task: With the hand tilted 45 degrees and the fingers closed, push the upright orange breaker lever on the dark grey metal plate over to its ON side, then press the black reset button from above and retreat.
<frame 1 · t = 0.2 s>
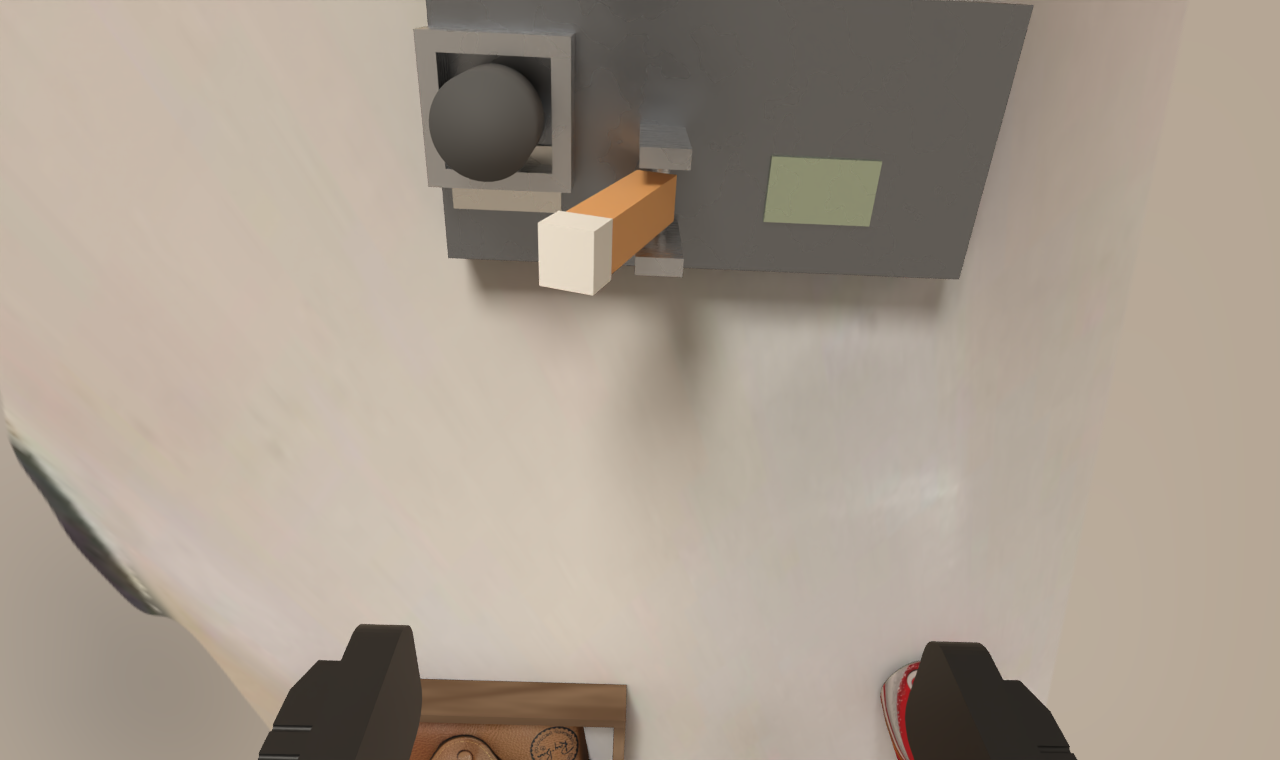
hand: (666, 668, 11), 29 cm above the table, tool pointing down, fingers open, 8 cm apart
breaker lever: (616, 223, 28), point 9 cm above the table, hinge at 20.0°
reset button: (489, 121, 29), point 7 cm above the table, slide at 0.0 cm
pen tray: (474, 738, 57), on the table
soda can: (921, 680, 55), on the table
brown oblong piece: (476, 728, 58), resting in pen tray
breaker plate: (711, 129, 35), on the table
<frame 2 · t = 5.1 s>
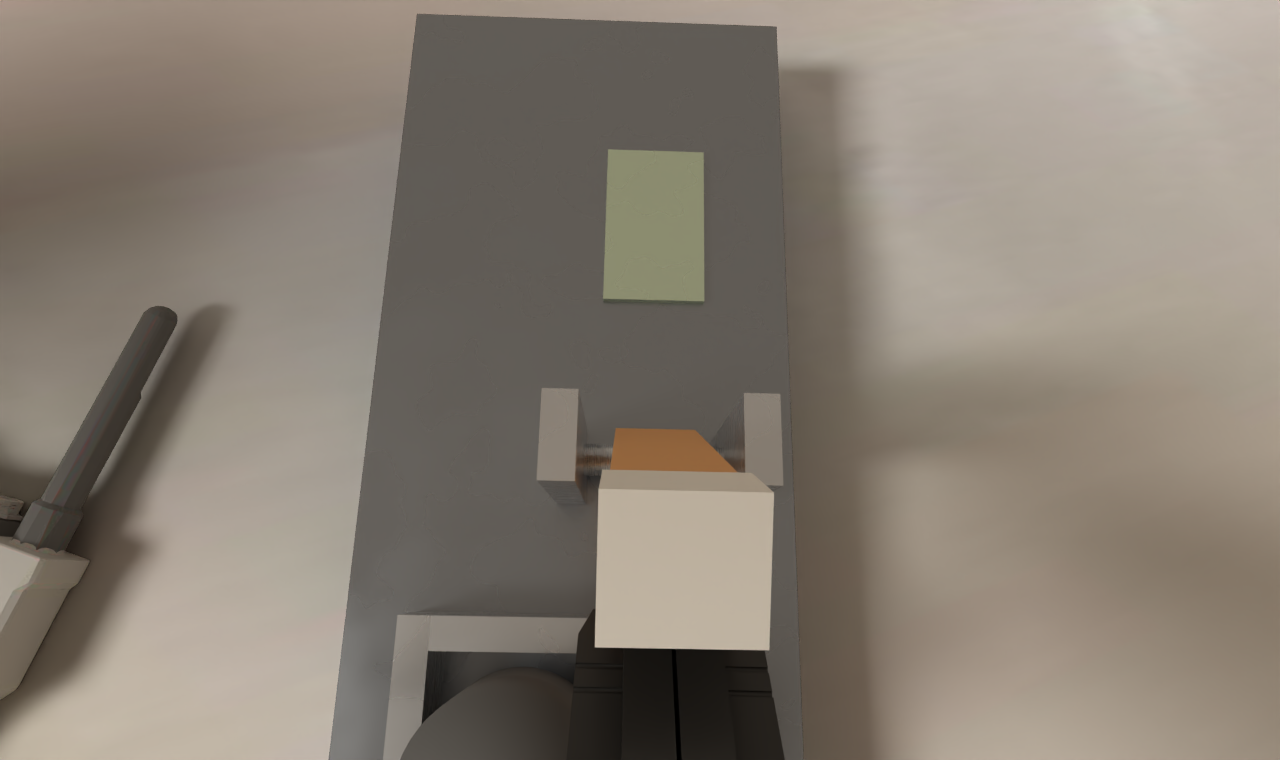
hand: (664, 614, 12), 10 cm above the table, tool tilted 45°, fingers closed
breaker lever: (664, 499, 14), point 9 cm above the table, hinge at 16.7°, touching gripper
breaker plate: (587, 405, 24), on the table
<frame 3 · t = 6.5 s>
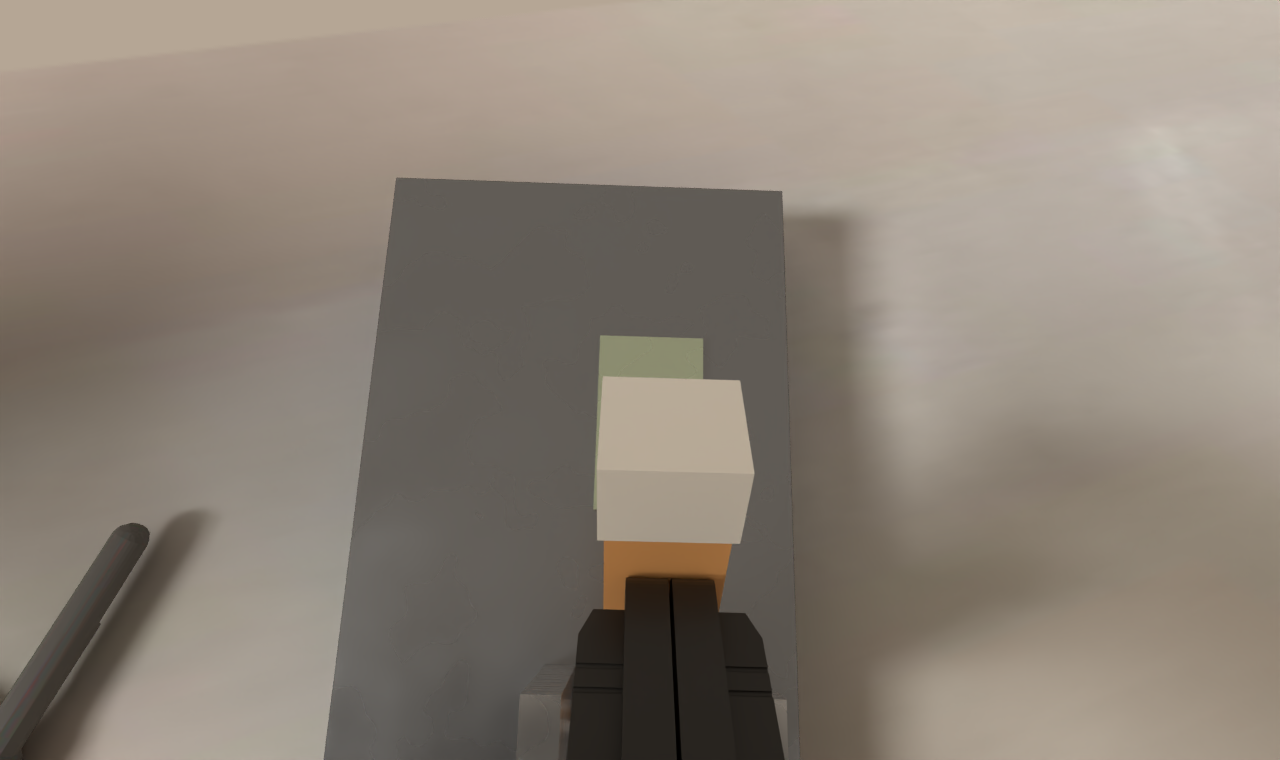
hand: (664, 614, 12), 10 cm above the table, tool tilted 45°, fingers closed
breaker lever: (657, 595, 14), point 9 cm above the table, hinge at -34.1°, touching gripper
breaker plate: (577, 600, 22), on the table
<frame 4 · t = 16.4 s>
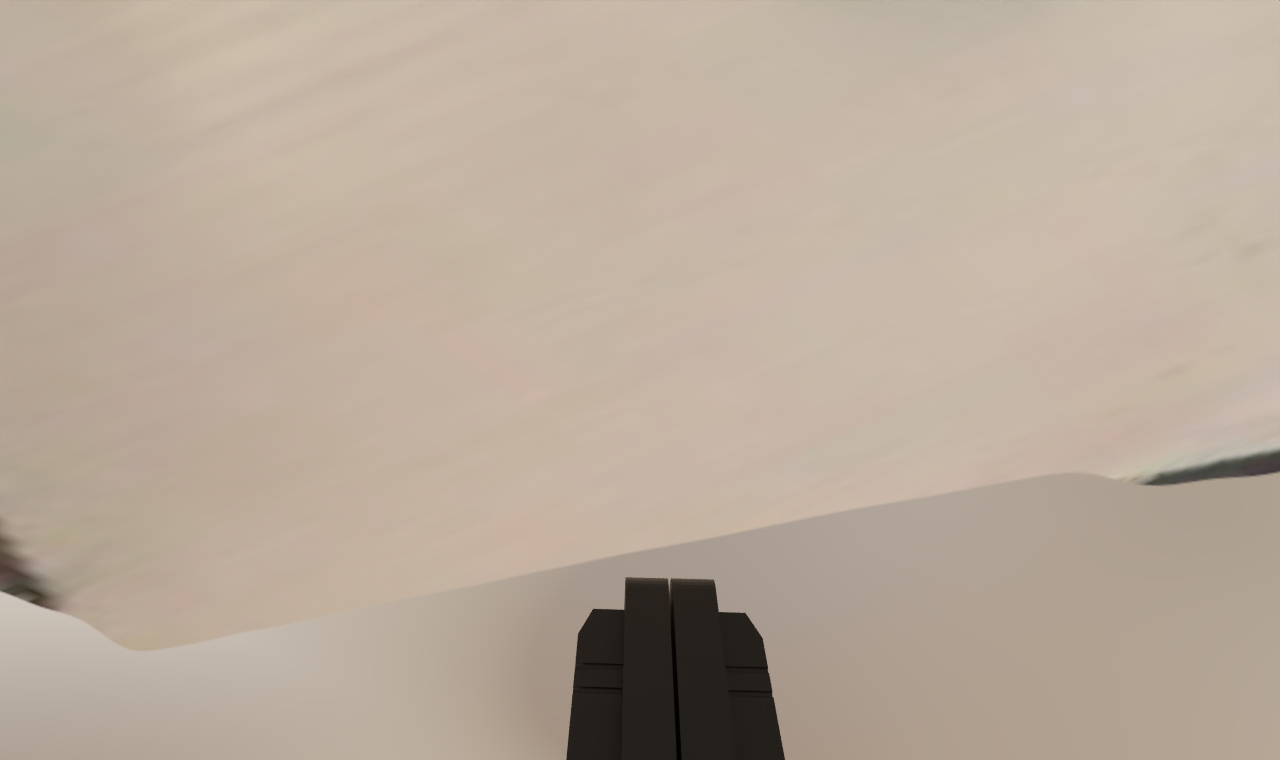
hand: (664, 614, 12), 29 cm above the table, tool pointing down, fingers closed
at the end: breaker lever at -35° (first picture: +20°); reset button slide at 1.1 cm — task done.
